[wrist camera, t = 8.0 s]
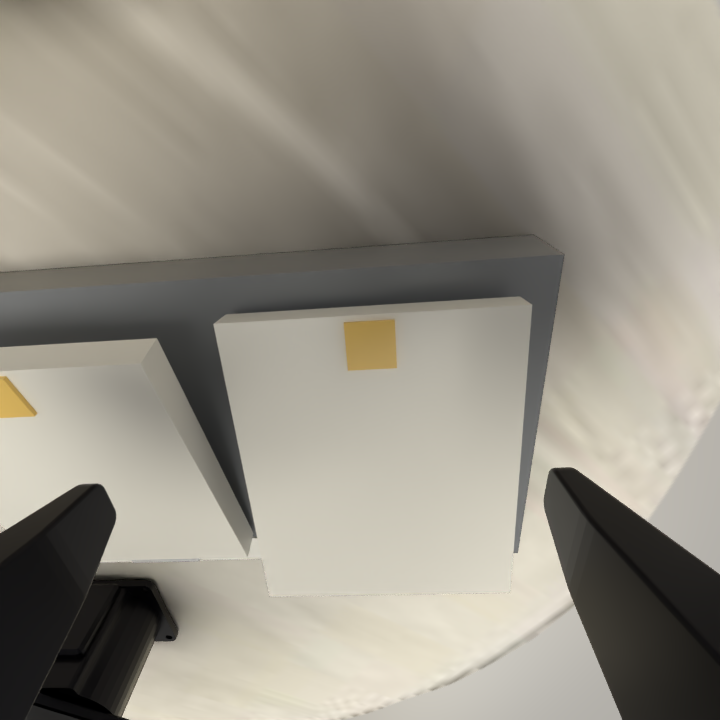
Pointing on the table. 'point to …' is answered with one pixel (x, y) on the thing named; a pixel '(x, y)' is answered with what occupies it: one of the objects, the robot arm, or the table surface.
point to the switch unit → (277, 293)
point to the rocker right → (381, 443)
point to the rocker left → (115, 448)
